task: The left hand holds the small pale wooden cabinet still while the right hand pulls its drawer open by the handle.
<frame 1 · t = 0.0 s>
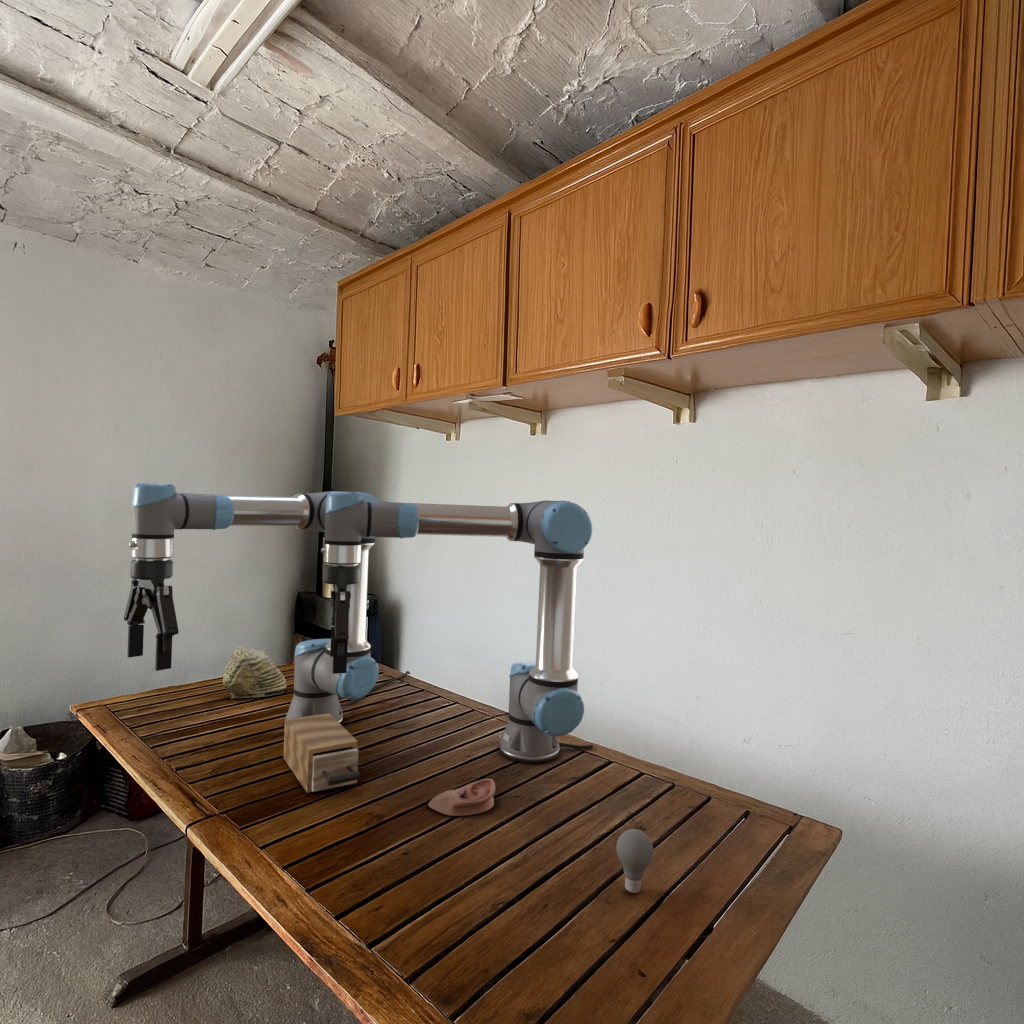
left hand: (148, 662, 129), 28 cm above the table, tool pointing down, fingers open, 13 cm apart
right hand: (338, 664, 134), 28 cm above the table, tool pointing down, fingers open, 13 cm apart
anatomical model: (462, 804, 133), on the table
drawer: (326, 759, 142), point 5 cm above the table, slide at 1.2 cm
fossil: (254, 694, 198), on the table
cabinet: (318, 769, 147), on the table
light bulb: (632, 891, 106), on the table
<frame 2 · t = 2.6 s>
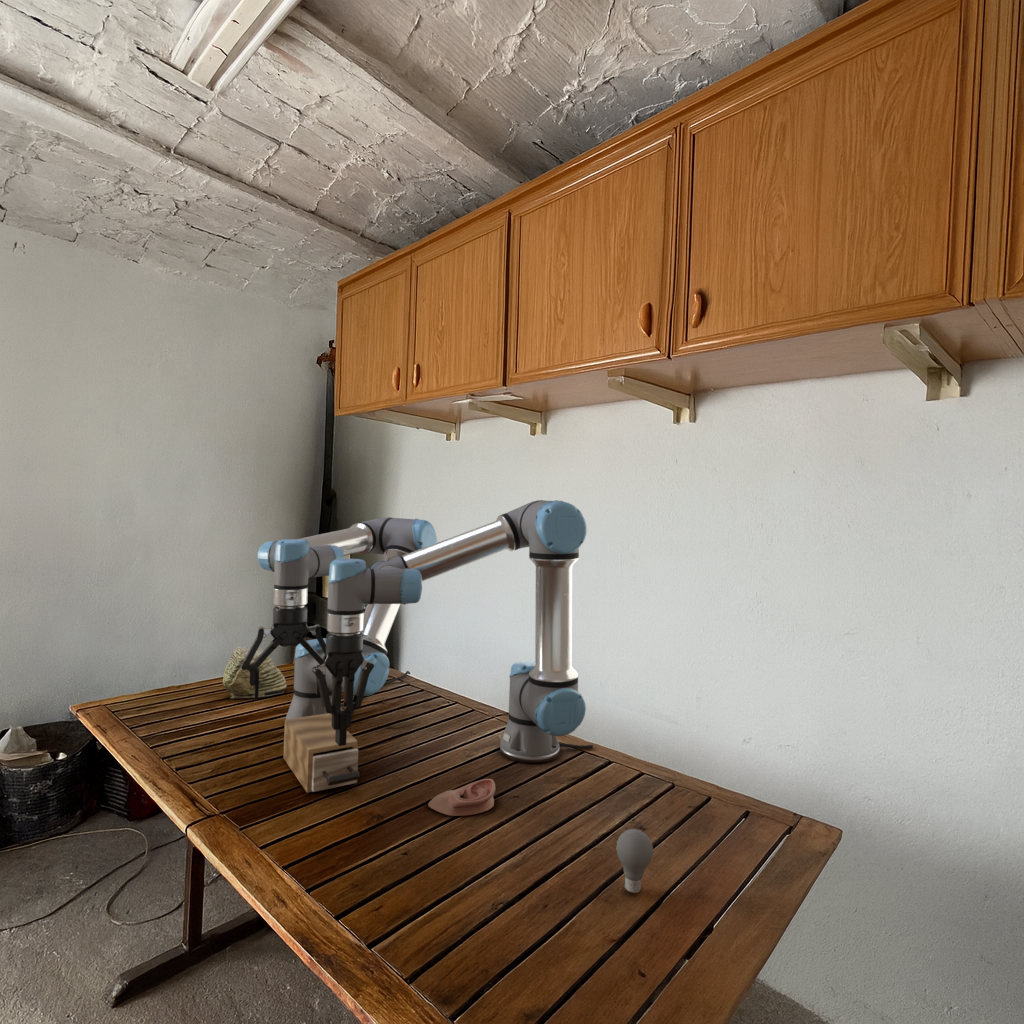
left hand: (287, 696, 148), 16 cm above the table, tool pointing down, fingers open, 13 cm apart
right hand: (340, 743, 134), 11 cm above the table, tool pointing down, fingers closed
nothing on the table moved.
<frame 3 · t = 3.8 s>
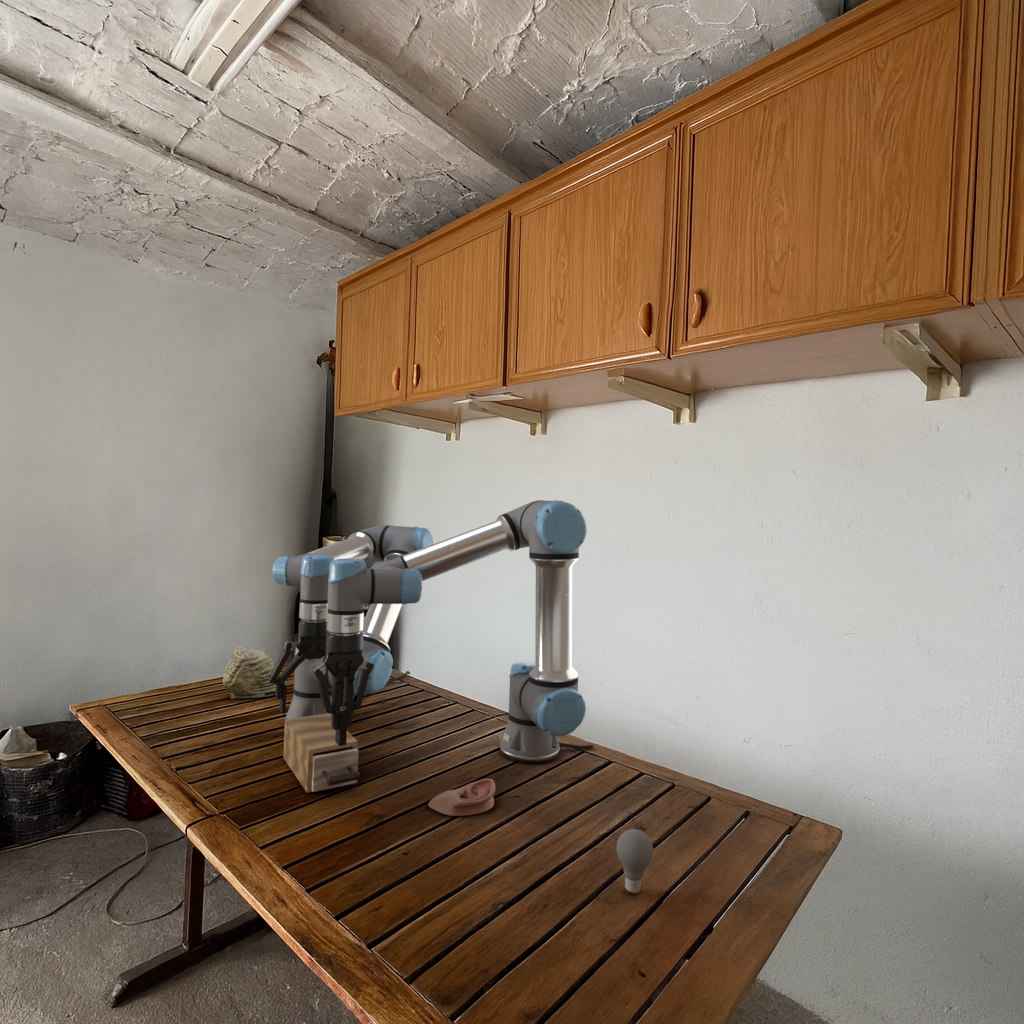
left hand: (311, 708, 152), 13 cm above the table, tool pointing down, fingers open, 13 cm apart
right hand: (340, 743, 134), 11 cm above the table, tool pointing down, fingers closed
nothing on the table moved.
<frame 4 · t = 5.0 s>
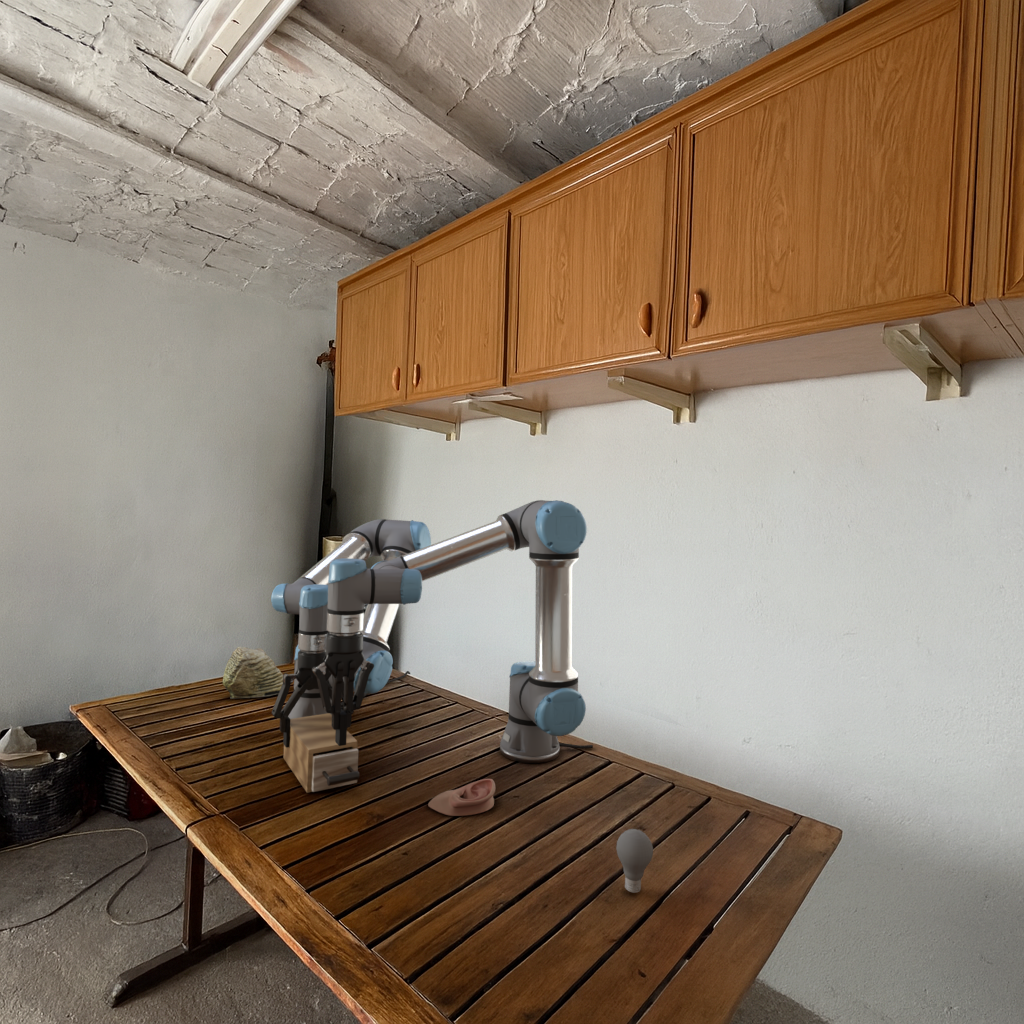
left hand: (311, 741, 152), 4 cm above the table, tool pointing down, fingers closed on cabinet, 11 cm apart
right hand: (340, 743, 134), 11 cm above the table, tool pointing down, fingers closed
cabinet: (318, 769, 147), on the table, touching left hand
everything else where it was.
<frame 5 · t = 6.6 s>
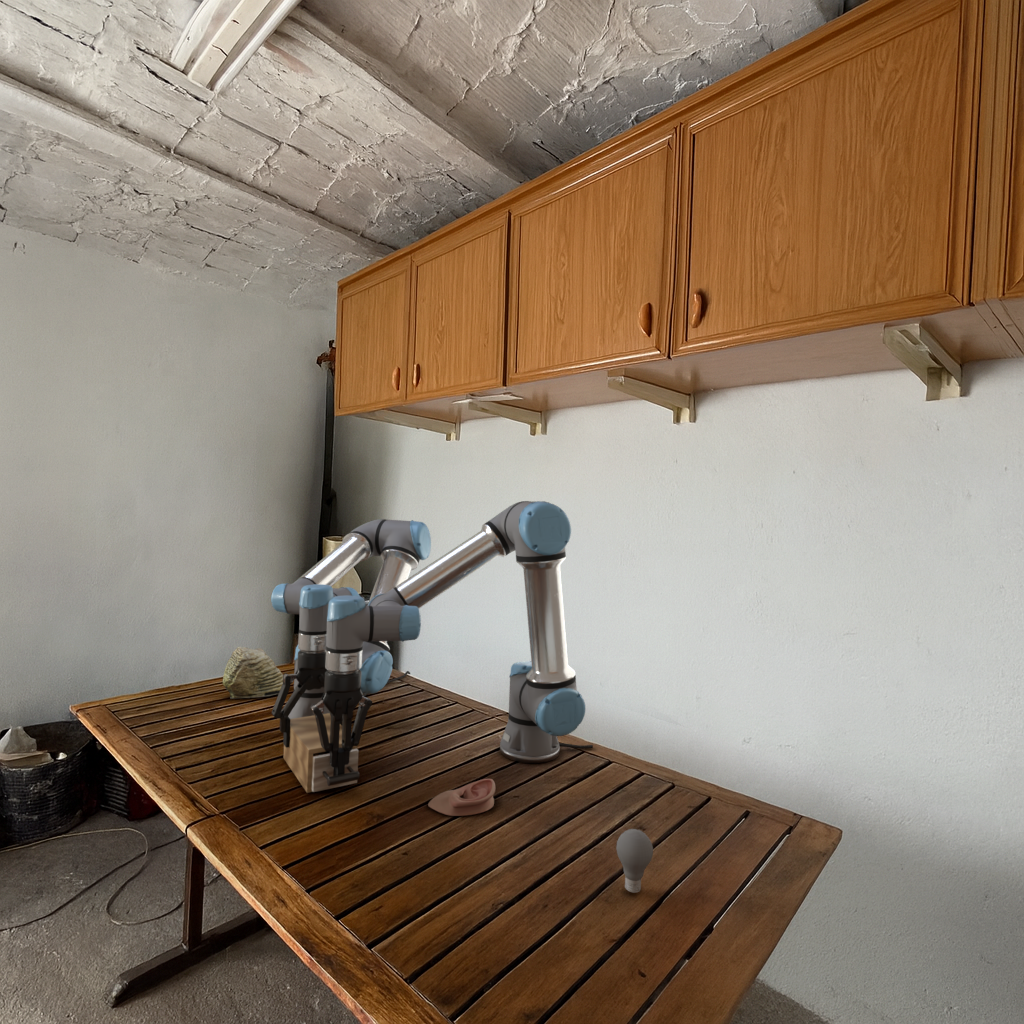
left hand: (311, 741, 152), 4 cm above the table, tool pointing down, fingers closed on cabinet, 11 cm apart
right hand: (338, 780, 134), 3 cm above the table, tool pointing down, fingers closed
drawer: (326, 759, 142), point 5 cm above the table, slide at 1.3 cm, touching right hand
cabinet: (318, 769, 147), on the table, touching left hand
everything else where it was.
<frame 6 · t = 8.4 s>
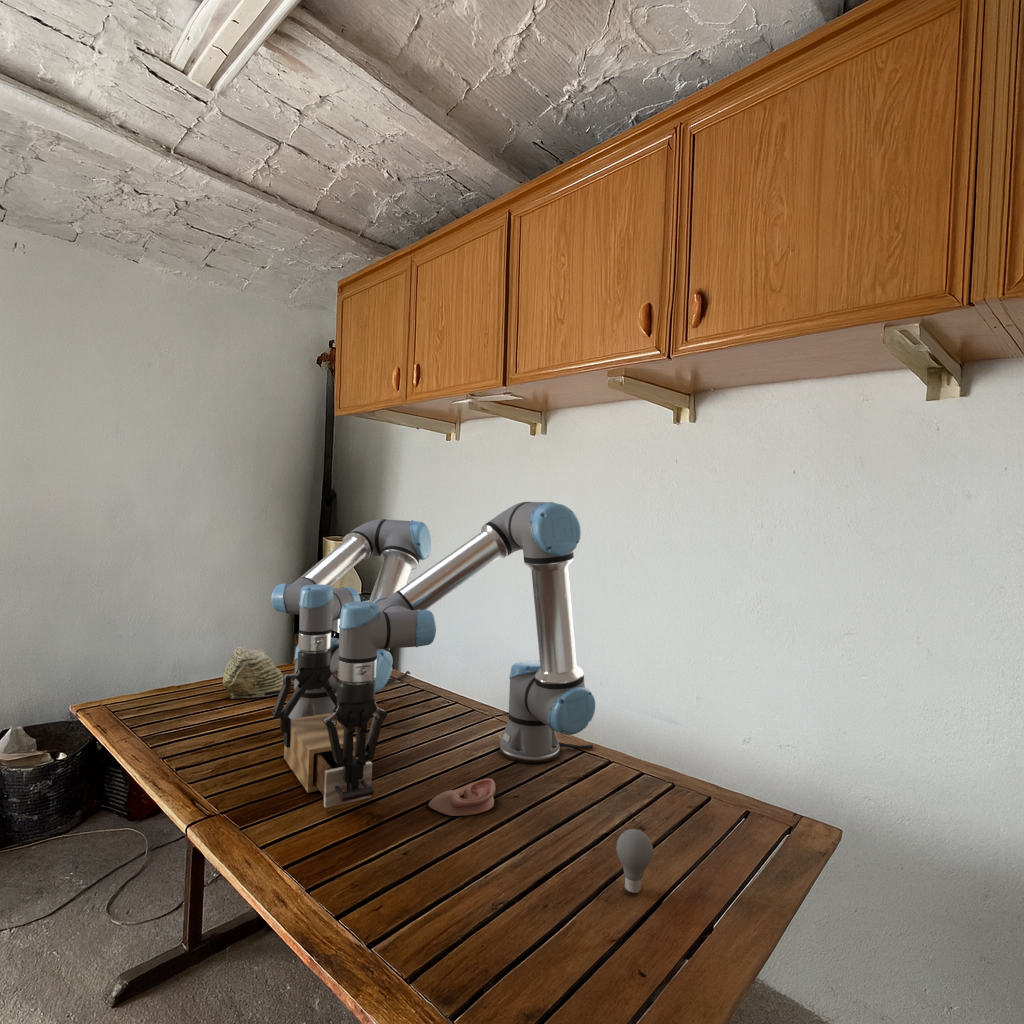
left hand: (311, 741, 152), 4 cm above the table, tool pointing down, fingers closed on cabinet, 11 cm apart
right hand: (352, 796, 127), 3 cm above the table, tool pointing down, fingers closed
drawer: (338, 772, 135), point 5 cm above the table, slide at 9.1 cm, touching right hand
cabinet: (318, 769, 147), on the table, touching left hand
everything else where it was.
when the left hand's fingers open (4 cm above the table, at t = 10.2 s): cabinet stays where it is, on the table.
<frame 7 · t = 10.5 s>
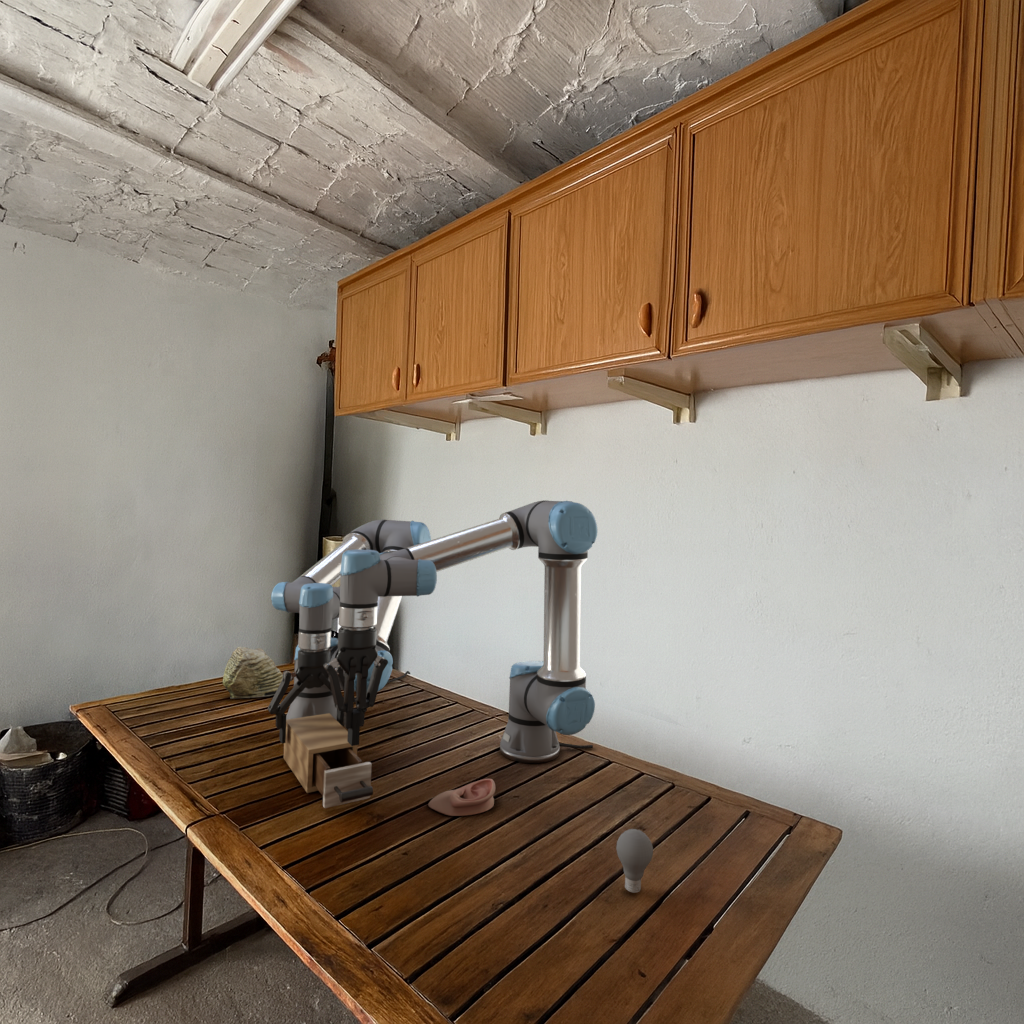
left hand: (311, 736, 152), 6 cm above the table, tool pointing down, fingers open, 13 cm apart
right hand: (353, 742, 128), 14 cm above the table, tool pointing down, fingers closed
drawer: (338, 772, 135), point 5 cm above the table, slide at 9.1 cm
cabinet: (318, 769, 147), on the table
everything else where it was.
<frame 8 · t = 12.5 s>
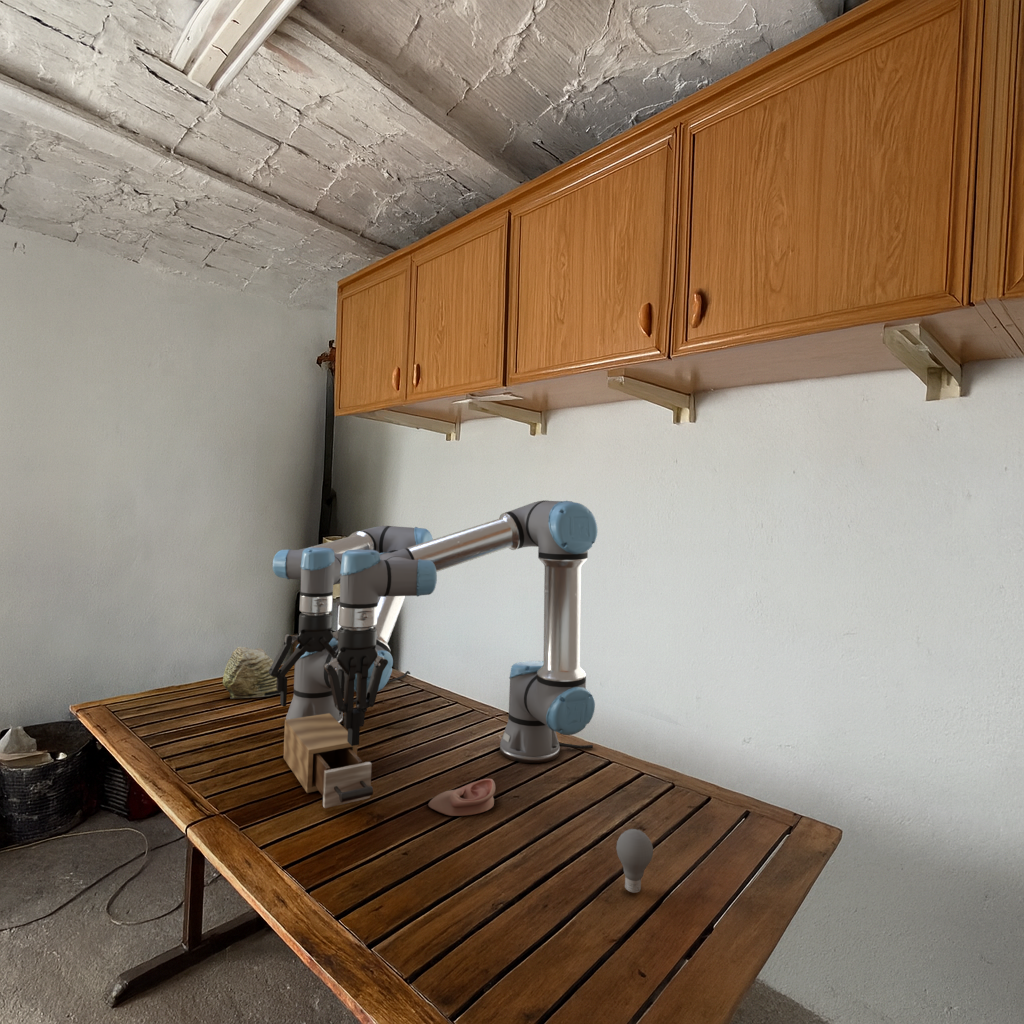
left hand: (312, 700, 152), 14 cm above the table, tool pointing down, fingers open, 13 cm apart
right hand: (353, 742, 128), 14 cm above the table, tool pointing down, fingers closed
nothing on the table moved.
at the end: drawer slide at 9.1 cm; cabinet tilted 0°; cabinet never tilted more than 1° during the clip; cabinet moved 0.1 cm from its start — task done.
